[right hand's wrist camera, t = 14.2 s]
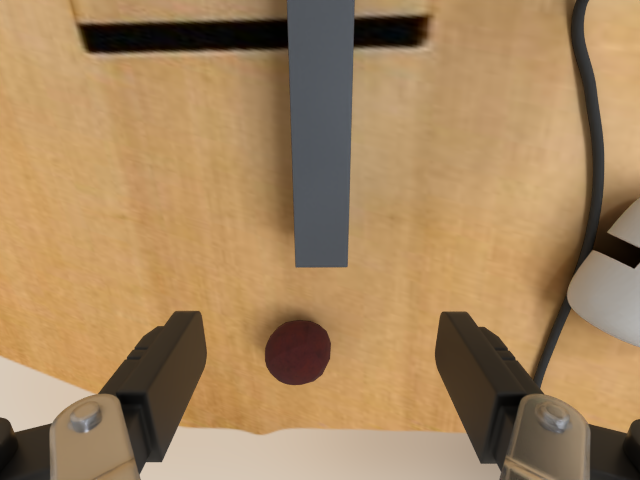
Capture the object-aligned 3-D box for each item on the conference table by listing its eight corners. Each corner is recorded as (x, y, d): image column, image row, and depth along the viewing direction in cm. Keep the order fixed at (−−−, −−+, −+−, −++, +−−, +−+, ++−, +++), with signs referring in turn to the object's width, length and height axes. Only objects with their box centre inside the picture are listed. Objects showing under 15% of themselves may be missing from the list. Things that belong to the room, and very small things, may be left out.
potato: (258, 325, 42) (247, 364, 36) (311, 297, 41) (310, 333, 34) (290, 366, 44) (285, 410, 38) (342, 341, 43) (346, 382, 36)
